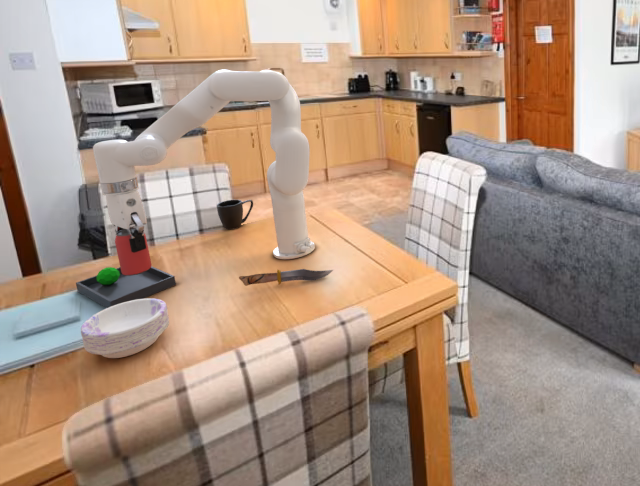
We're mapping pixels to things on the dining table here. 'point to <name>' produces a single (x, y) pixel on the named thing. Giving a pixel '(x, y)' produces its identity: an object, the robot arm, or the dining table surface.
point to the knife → (284, 276)
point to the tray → (126, 287)
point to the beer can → (131, 255)
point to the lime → (108, 276)
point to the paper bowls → (125, 328)
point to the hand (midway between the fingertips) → (132, 247)
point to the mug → (232, 213)
